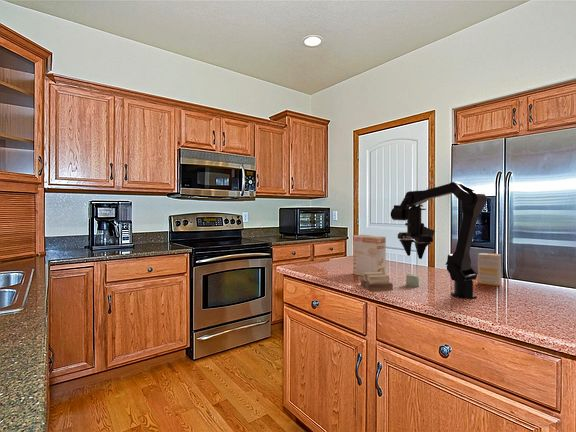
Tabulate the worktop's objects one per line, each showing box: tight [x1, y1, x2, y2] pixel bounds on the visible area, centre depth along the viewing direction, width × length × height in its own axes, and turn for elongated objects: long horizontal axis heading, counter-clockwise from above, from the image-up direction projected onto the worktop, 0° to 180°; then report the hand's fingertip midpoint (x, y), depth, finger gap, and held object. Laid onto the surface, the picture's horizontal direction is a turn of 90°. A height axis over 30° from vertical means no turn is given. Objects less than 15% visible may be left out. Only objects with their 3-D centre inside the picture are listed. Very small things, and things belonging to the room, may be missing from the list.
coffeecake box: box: [352, 234, 387, 277], centre depth 163 cm, size 15×7×20 cm, turn 35°
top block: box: [362, 272, 390, 284], centre depth 141 cm, size 8×8×3 cm
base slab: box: [360, 278, 394, 292], centre depth 141 cm, size 10×10×3 cm
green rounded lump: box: [405, 273, 420, 288], centre depth 143 cm, size 5×5×4 cm
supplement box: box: [477, 252, 502, 287], centre depth 144 cm, size 8×5×13 cm, turn 47°
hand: (414, 257), depth 143 cm, fingers open, 9 cm apart
